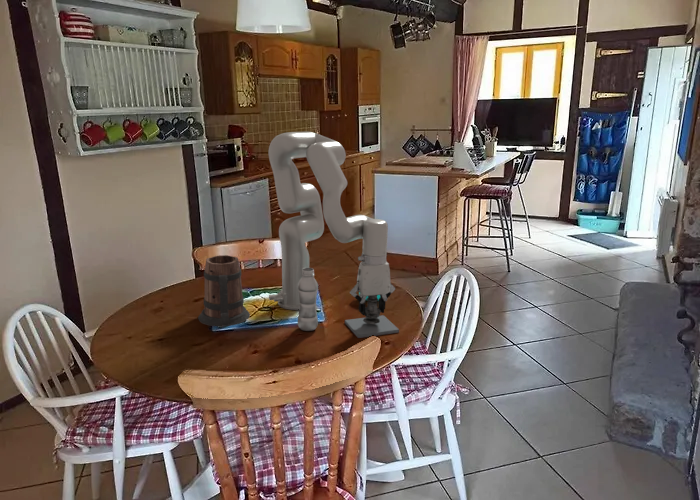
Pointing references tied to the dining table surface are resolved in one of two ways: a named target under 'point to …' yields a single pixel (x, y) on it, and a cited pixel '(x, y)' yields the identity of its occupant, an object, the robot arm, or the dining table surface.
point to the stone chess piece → (372, 311)
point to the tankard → (223, 292)
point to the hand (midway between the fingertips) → (371, 312)
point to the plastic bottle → (307, 300)
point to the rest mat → (371, 327)
